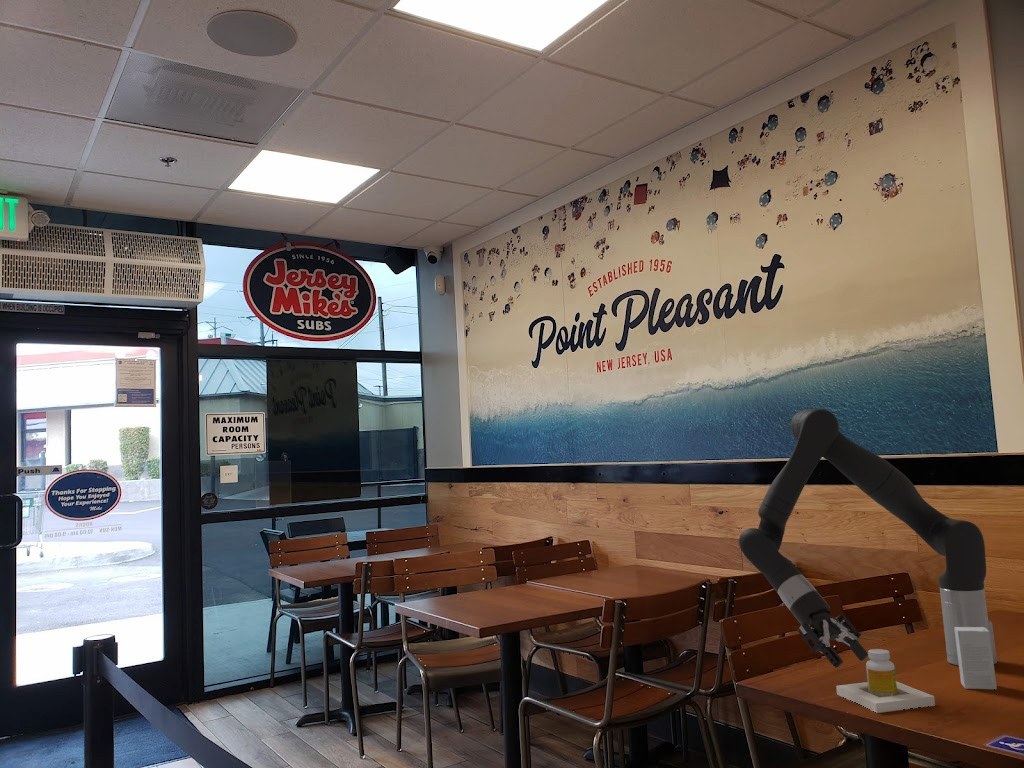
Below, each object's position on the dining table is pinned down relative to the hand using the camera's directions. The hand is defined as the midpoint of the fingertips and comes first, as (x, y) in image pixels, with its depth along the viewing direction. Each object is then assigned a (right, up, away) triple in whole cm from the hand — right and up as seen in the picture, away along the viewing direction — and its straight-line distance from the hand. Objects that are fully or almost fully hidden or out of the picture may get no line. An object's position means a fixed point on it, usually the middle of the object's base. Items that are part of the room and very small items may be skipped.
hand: (852, 661), depth 165 cm
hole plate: (+4, -6, -6) cm, 9 cm away
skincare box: (+26, -5, -1) cm, 27 cm away
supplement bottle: (+4, -6, -6) cm, 9 cm away
